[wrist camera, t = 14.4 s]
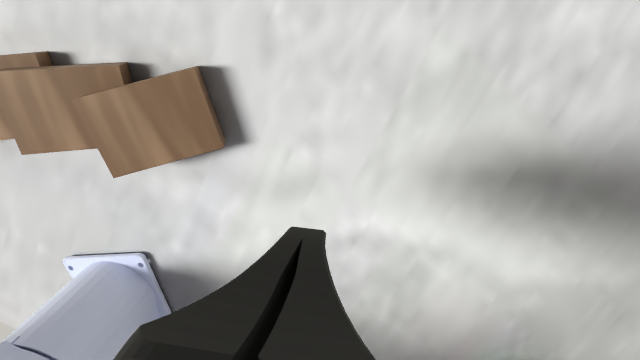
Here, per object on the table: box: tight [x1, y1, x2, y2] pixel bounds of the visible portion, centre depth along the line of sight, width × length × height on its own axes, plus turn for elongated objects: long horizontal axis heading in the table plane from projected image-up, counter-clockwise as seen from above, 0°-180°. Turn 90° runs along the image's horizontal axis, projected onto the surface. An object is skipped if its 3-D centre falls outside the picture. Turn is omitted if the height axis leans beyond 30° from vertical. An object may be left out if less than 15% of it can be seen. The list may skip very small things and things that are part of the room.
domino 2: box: [0, 62, 132, 155], centre depth 22 cm, size 2×5×7 cm
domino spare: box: [72, 66, 225, 178], centre depth 21 cm, size 2×5×7 cm
